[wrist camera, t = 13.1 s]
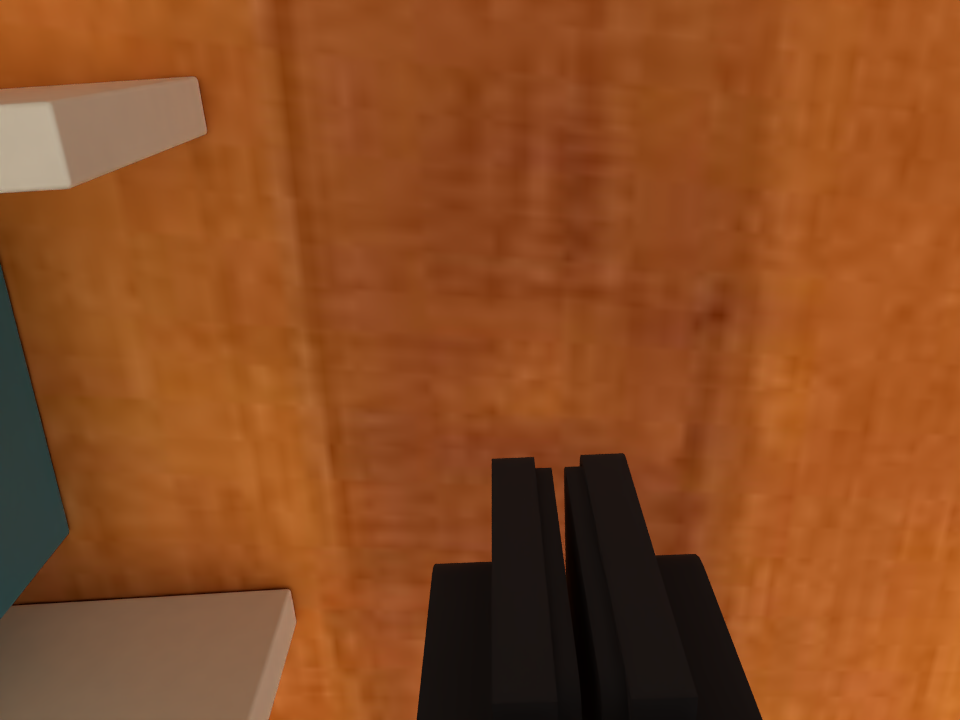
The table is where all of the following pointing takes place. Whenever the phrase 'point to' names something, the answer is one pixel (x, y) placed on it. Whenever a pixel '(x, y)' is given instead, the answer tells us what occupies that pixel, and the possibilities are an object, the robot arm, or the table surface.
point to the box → (23, 471)
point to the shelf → (138, 621)
